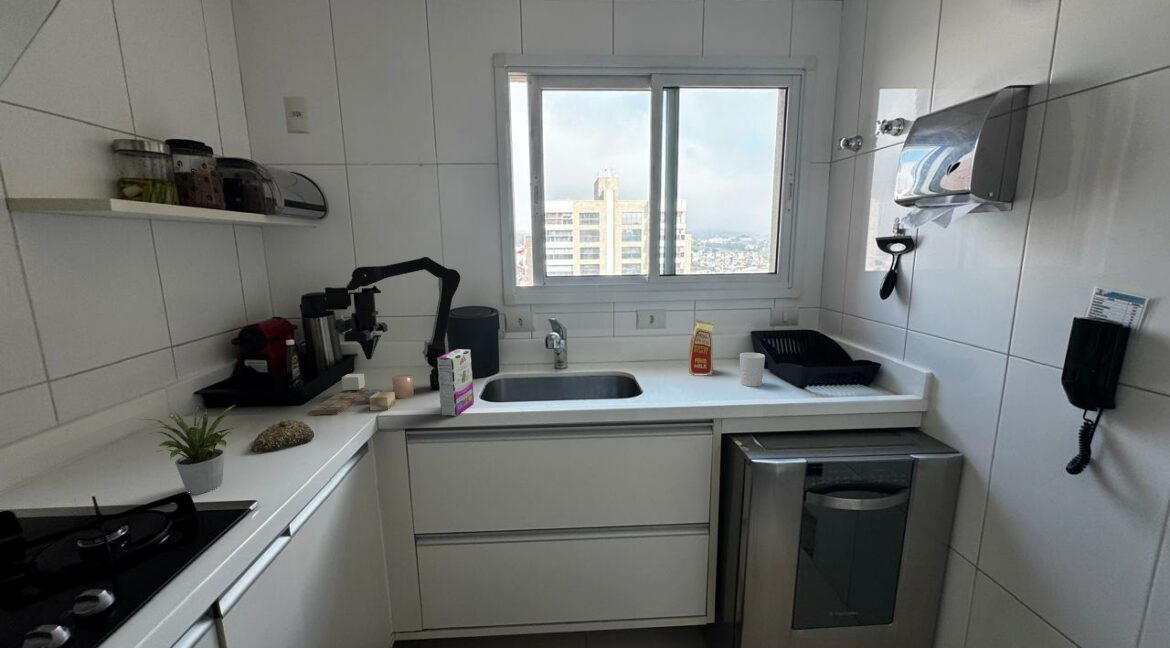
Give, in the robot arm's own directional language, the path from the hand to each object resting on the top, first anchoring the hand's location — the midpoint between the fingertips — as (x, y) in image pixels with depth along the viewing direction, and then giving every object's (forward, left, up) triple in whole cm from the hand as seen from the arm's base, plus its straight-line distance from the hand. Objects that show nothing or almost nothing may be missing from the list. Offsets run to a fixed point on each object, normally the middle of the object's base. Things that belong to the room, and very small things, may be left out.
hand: (369, 359), depth 137 cm
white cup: (-122, -6, -12) cm, 123 cm away
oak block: (-7, +10, -12) cm, 17 cm away
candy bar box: (-29, +13, -12) cm, 34 cm away
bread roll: (+7, +32, -13) cm, 35 cm away
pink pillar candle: (-9, -1, -12) cm, 15 cm away
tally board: (+7, +5, -12) cm, 15 cm away
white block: (+7, -3, -10) cm, 12 cm away
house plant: (+10, +55, -12) cm, 57 cm away
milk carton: (-110, -22, -12) cm, 113 cm away
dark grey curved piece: (-2, +4, -12) cm, 13 cm away
